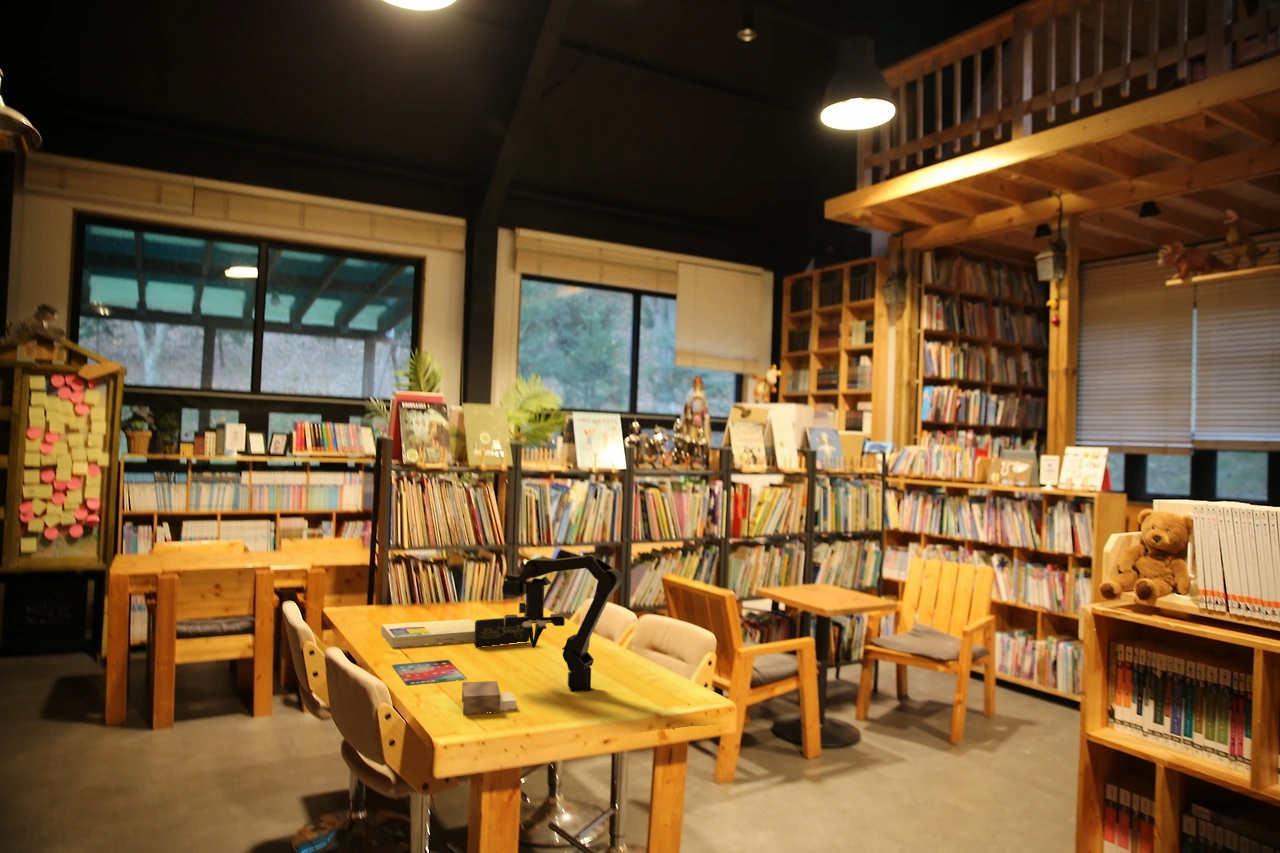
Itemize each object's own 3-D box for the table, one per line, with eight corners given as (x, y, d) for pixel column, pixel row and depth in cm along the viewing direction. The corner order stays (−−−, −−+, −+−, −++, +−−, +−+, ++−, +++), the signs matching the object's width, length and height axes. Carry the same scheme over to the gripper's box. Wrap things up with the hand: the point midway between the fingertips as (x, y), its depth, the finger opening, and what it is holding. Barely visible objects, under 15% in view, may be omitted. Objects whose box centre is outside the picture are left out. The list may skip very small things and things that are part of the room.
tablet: (406, 687, 253) (406, 684, 253) (391, 667, 275) (391, 664, 275) (467, 681, 262) (467, 678, 262) (448, 661, 284) (448, 659, 284)
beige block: (511, 702, 241) (511, 692, 241) (515, 711, 233) (516, 700, 233) (476, 704, 237) (477, 694, 238) (480, 713, 230) (480, 702, 230)
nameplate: (527, 642, 316) (528, 616, 316) (528, 643, 314) (529, 617, 314) (474, 647, 305) (475, 620, 306) (475, 648, 304) (476, 621, 304)
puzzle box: (487, 642, 315) (471, 629, 337) (488, 630, 316) (471, 618, 337) (390, 650, 299) (380, 635, 321) (391, 637, 300) (380, 623, 321)
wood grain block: (496, 698, 243) (497, 681, 243) (499, 713, 229) (500, 694, 230) (462, 699, 241) (462, 682, 241) (463, 714, 227) (463, 696, 227)
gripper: (560, 593, 271) (559, 641, 271) (503, 594, 267) (501, 642, 266) (565, 599, 260) (563, 649, 260) (506, 600, 256) (504, 650, 256)
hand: (533, 647), depth 261 cm, fingers closed
